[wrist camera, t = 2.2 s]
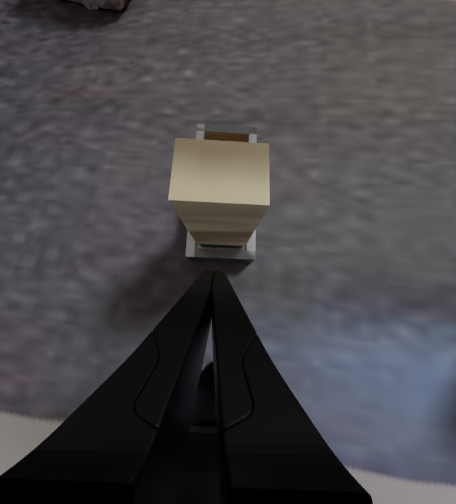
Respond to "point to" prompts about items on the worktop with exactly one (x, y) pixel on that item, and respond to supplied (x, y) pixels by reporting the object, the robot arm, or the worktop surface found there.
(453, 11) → the worktop surface
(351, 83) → the worktop surface
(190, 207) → the lever
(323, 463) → the robot arm
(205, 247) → the fader track
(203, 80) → the worktop surface
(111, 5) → the food item
